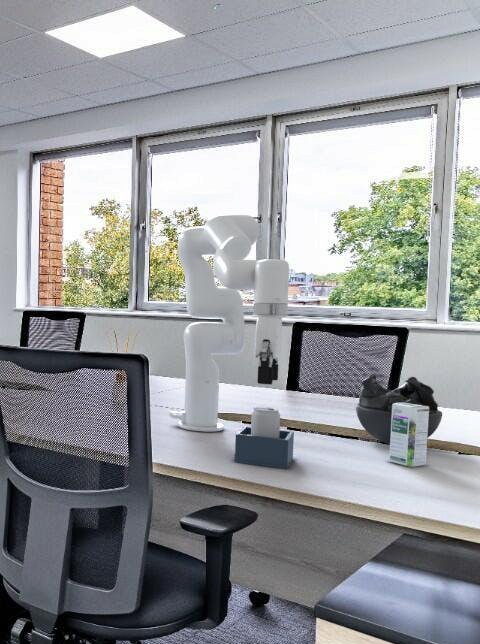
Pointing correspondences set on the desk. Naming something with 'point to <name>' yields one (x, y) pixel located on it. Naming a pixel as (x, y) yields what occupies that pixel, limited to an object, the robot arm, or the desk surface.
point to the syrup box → (409, 434)
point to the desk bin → (264, 449)
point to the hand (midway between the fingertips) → (267, 381)
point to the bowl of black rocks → (379, 400)
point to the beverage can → (265, 422)
